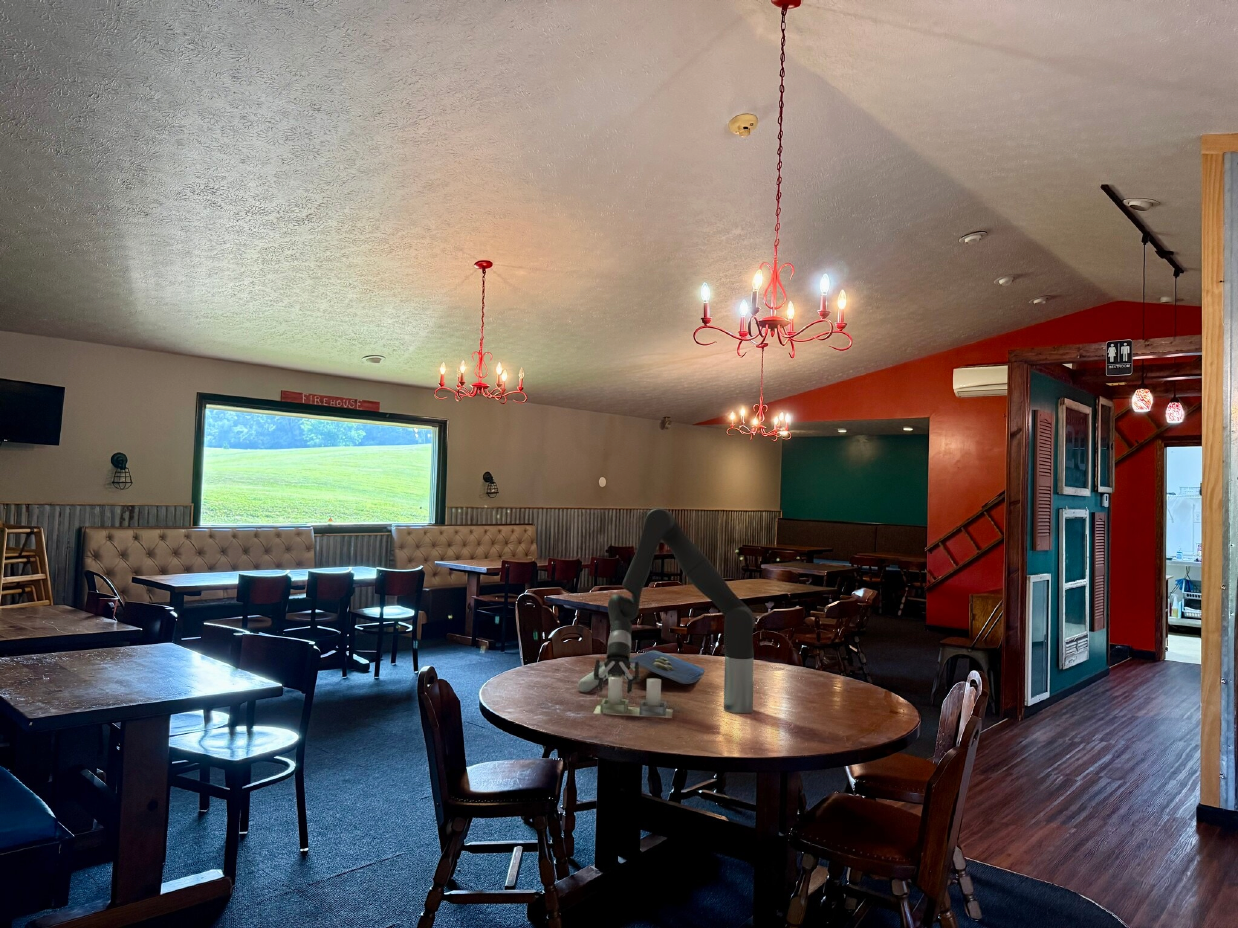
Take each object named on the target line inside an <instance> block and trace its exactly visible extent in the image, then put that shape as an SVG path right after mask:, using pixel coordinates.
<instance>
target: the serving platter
mask: <svg viewBox="0 0 1238 928" xmlns="http://www.w3.org/2000/svg"><path fill="white" fill-rule="evenodd" d="M635 662H639V668H643V669H645V670H648V671H650V672H652V673H655V674H657V675H660V676H662V677H664V678H668V679H670V680H672V681H675V682H678V683H680V684H683V685H688V684H693V683H696V682H697V681H698V680H701V679H702V678H703V675H704V674H705V673H706V670H705V668H703V667H701V666H698V665H696V664H695V663H691V662H688V661H686V660H683V659H681V658H678V657H675V656H673V655H670V654H666V653H663V652H661V651H658V650H650V651H647V652H643V653H641V654H637V655H636V656H633V657H630V663H635ZM619 677H622V676H619Z"/></svg>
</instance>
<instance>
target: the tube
mask: <svg viewBox="0 0 1238 928" xmlns="http://www.w3.org/2000/svg"><path fill="white" fill-rule="evenodd" d="M604 669H605V667H604V666H603V667H602V668H601V669H599V675H600V674H601V673H602V672H603V670H604ZM609 677H611V675H610V676H609ZM609 677H608V678H606V679H607V680H609ZM606 679H605V680H604V681H603V682H605V681H607V680H606ZM597 685H598V680H595V679H594V670H593V671H592V672H590V673H588V674H587V675H585V676H584V677H582V678H581V679H580V680H579V681H578V683H577V690H579V691H580V692H581V693H589V692H590V691H592V690H593V689H594V688H596V687H598V686H597Z"/></svg>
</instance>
